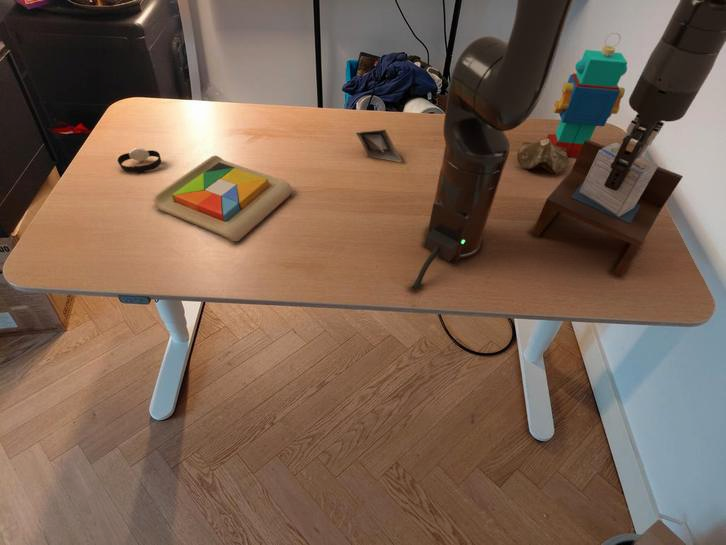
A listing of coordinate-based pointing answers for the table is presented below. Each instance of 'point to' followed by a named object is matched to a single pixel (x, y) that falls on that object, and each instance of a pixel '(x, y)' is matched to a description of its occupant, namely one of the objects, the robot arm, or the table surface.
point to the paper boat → (378, 145)
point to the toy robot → (589, 98)
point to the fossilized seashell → (543, 156)
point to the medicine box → (629, 188)
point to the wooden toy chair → (586, 210)
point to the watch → (139, 155)
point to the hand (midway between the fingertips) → (617, 179)
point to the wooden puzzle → (223, 197)
